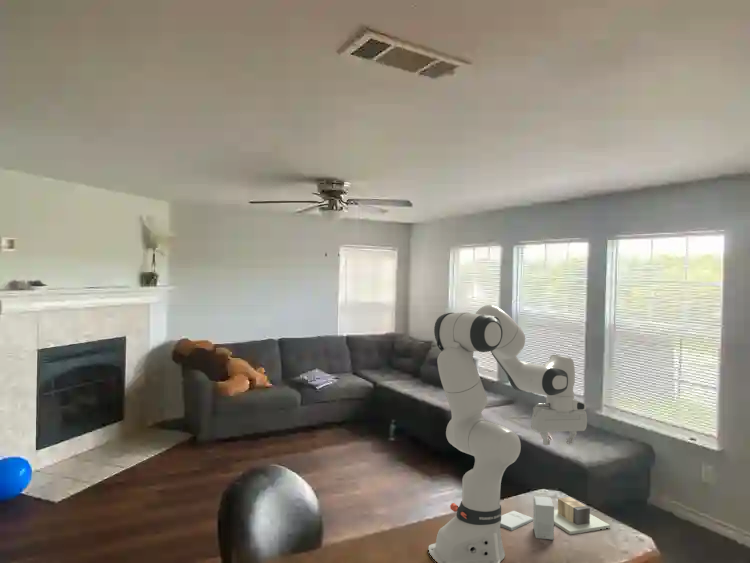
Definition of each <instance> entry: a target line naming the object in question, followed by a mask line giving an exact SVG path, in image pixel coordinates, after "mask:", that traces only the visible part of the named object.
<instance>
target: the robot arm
mask: <svg viewBox="0 0 750 563" xmlns="http://www.w3.org/2000/svg"><path fill="white" fill-rule="evenodd" d="M433 330H434V331H433V332H434V338H435V341H436V346H437V347H438V349H439V350H440V351H441V352H440V353H439V354H438V356H437V360H436V361H437V362H436V363H437V370H438V374H439V379H440V381H441V385H442V389H443V391H444V393H445V396H446V399H447V402H448V405H449V408H450V411H451V412H450V414H451V419H450V420H449V422H448V423H447V426H446V428H445V430H446V431H445V437H446V439H447V441H448V443H449V444H450V445H452V447H454V448H456V449H457V450H458V451H460V452H462V453H465V454H467V455H470V456H473V457H474V463H473V464H474V465H473V468H471V469H470V470H468V471H466V472H465V474H463V476H462V479H461V480H462V482H461V484H462V485H461V486H462V487H461V488H462V489H461V490H462V492H461V496H462V497H461V501H460V504H459V505H457V504H456V503H455V502H452V503H451V504H450V505H449V508H450V510H452V511H453V512H454V513H456V515H455V516H454V517H453V518H451V519H450V520H449V521H448V522H446V524H445V525H443V526H442V527H440V528H439V530H438V532H437V535H436V540H435V542H434V543H431V544H429V545H428V547H427V548H428V550H429V552H428V554H429V553H430V555H431V556H432V557H433V559H435V561H437V562H438V563H501V562H502V561H503V559H505V556H506V553H505V549H504V546H503V540H502V531H501V526H500V522H501V516H502V505H501V486H502V484H501V483H502V479H503V476H504V473H505V471H506V470H507V468H508V467H509V466H510V465H512V464H513V463H515V462H516V461H517V459H518V458H519V456H520V453H521V447H522V445H521V444H522V443H521V440H520V437H519V435H518V434H517V432H514V431H513V430H512V429H510V428H507V427H506V426H504V425H502V424H498V423H495V422H491V421H488V420H487V419H485V418H484V416H483V414H482V413H483V411H484V409H485V408H486V406H487V404H488V397H487V394H486V390H485V388H484V385H483V382H482V379H481V376H480V374H479V370H478V368H477V366H476V365H475V361H474V352H479V353H488V352H490V353H491V355H492V357H494V360H495V361H496V363H497V364H498V365H499V366H500V367H501V369H502V370H503V371H504V373H505V374H506V377H507V379H508V381H509V383H510V385H511V387H512V388H513V390H515V391H517V392H527V393H533V394H537V395H543V396H545V397H546V398H545V400H546V401H545V402H544V403H543V402H542V403H540V402H539V403H536V404H535V405H534V406H533V408H532V415H531V416H532V417H531V422H530V427H531V429H532V430H533V431H534V432H537V433H540V436H541V438H542V444H543V445H544V446H550V444H551V440H550V439H548V434H549V433H554V432H555V433H556V432H569V436H568V437H566V444H568V445H574V440H575V438H576V436H577V435H578V433H577V432H584V431H586V429H587V427H588V415H587V411H586V410H587V407H588V406H587V404H586V403H584V402H582V401H580V400H577V399H575V392H574V386H575V381H576V374H575V373H576V371H575V370H576V369H575V364H574V363H575V362H574V360H573V358H571V357H570V356H566V355H561V354H551V355H550V357H549V360H548V361H547V362H545V363H543V364H538V363H530V362H527V361H521V360H520V359H519V358H518V357H517V356H518V355H519V354H521V352H522V351H523V349H524V347H525V344H526V336H525V333H524V331H523V329H522V328H521V327H520V326H519V324H518V323H517V322H516V321H515V320H514V319H513V318H512V317H511V316H510V315H509V314H508V313H507V312H505V311H504V310H503V309H501V308H500V307H498V306H496V305H493V304H486V305H484V306H481V307H480V308H479V309H478V310H477V311H476V312H475V313H472V312H447V313H444V314H442V315H439V316H438V317H437V319H436V320H435V322H434V329H433ZM428 550H427V551H428ZM430 555H429V556H430ZM431 556H430V557H431ZM433 559H432V560H433ZM435 561H434V562H435Z"/></svg>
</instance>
